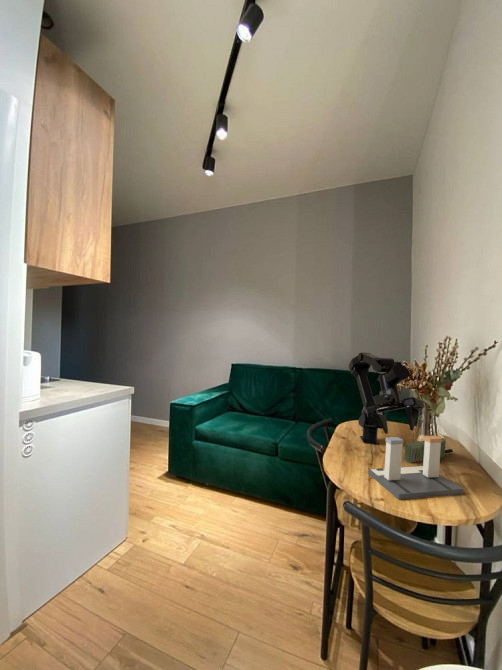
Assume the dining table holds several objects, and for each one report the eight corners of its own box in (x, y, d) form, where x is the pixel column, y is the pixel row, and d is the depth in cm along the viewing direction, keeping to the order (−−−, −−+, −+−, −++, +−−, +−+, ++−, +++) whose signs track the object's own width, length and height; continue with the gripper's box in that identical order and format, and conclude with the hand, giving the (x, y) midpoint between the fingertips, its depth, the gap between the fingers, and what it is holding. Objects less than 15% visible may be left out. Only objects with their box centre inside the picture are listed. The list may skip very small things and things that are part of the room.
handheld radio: (402, 459, 100) (446, 451, 109) (410, 464, 97) (455, 455, 106) (403, 442, 99) (448, 435, 108) (412, 446, 96) (457, 439, 105)
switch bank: (368, 473, 88) (368, 468, 88) (425, 469, 92) (425, 464, 92) (398, 499, 75) (399, 493, 75) (463, 493, 79) (463, 487, 79)
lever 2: (421, 473, 86) (424, 436, 86) (433, 473, 87) (435, 435, 86) (427, 477, 84) (430, 439, 83) (439, 477, 84) (442, 438, 84)
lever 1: (383, 476, 83) (385, 437, 83) (395, 475, 84) (397, 437, 84) (388, 480, 81) (391, 440, 80) (400, 479, 82) (403, 440, 81)
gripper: (354, 390, 104) (361, 432, 96) (401, 376, 91) (413, 424, 83) (372, 396, 109) (379, 436, 102) (418, 384, 96) (431, 429, 88)
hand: (398, 432), depth 93 cm, fingers open, 9 cm apart
